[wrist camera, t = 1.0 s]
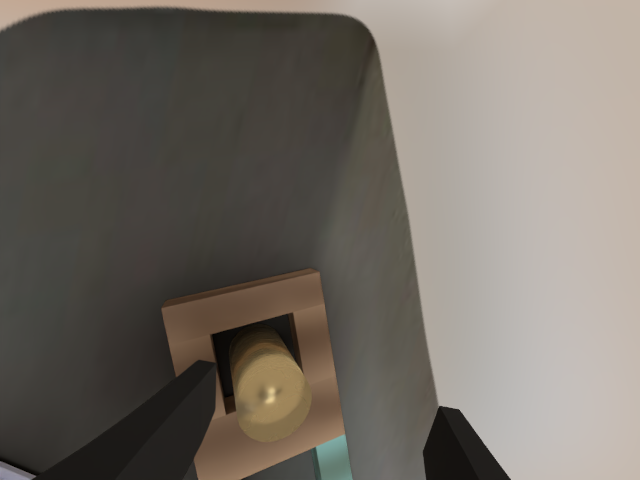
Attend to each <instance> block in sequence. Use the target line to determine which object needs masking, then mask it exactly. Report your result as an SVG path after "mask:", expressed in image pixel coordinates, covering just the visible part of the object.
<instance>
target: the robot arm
mask: <svg viewBox="0 0 640 480" xmlns="http://www.w3.org/2000/svg"><path fill="white" fill-rule="evenodd" d="M216 372H217V363H214V362H209V361H204V360H197V361H196V362H194V363H193V364H192V365H191V366H190V367H188V368H187V369H186V370H185V371H184V372H182V373H181V374H180V375H179V376H177V377H176V378H175V379H174V380H173V381H171V382H170V383H169V384H168V385H166V386H165V387H164V388H163V389H161V390H160V391H159V392H158V393H156V394H155V395H154V396H152V397H151V398H150V399H149V400H147V401H146V402H145V403H143V404H142V405H141V406H140V407H138V408H137V409H136V410H134V411H133V412H132V413H130V414H129V415H128V416H126V417H125V418H124V419H122V420H121V421H119V422H118V423H117V424H115V425H114V426H112V427H111V428H110V429H108V430H107V431H105V432H104V433H103V434H101V435H100V436H98V437H97V438H96V439H94V440H93V441H91V442H90V443H88V444H87V445H85V446H84V447H82V448H81V449H79V450H78V451H76V452H75V453H73V454H72V455H70V456H68V457H67V458H65V459H64V460H62V461H61V462H59V463H57V464H56V465H54V466H53V467H51V468H50V469H48V470H46V471H45V472H43V473H41V474H40V475H38V476H35V475H32V474H30V473H27V472H25V471H23V470H20V469H18V468H15V467H13V466H11V465H8V464H6V463H3V462H1V461H0V480H182V479H183V477H184V476H185V474H186V472H187V470H188V468H189V466H190V464H191V463H192V461H193V459H194V457H195V455H196V453H197V451H198V449H199V447H200V446H201V444H202V441H203V439H204V437H205V434H206V432H207V430H208V427H209V425H210V422H211V420H212V417H213V415H214V412H215V408H216ZM423 457H424V465H425V474H426V480H511V479H510V478H509V477H508V476H507V474H506V473H505V471H504V470H503V469H502V467H501V466H500V465H499V463H498V462H497V461H496V459H495V458H494V457H493V455H492V454H491V453H490V451H489V450H488V448H487V447H486V446H485V445H484V443H483V442H482V440H481V439H480V437H479V436H478V435H477V434H476V432H475V431H474V429H473V428H472V426H471V425H470V424H469V422H468V421H467V420H466V418H465V417H464V415H463V414H462V413H461V411H460V410H459V409H453V408H448V407H443V406H439V408H438V411H437V414H436V417H435V419H434V422H433V425H432V428H431V431H430V433H429V436H428V439H427V442H426V445H425V447H424V450H423Z"/></svg>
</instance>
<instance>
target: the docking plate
mask: <svg viewBox="0 0 640 480" xmlns="http://www.w3.org/2000/svg"><path fill="white" fill-rule="evenodd" d="M161 310H162V315H163V319H164V324H165V329H166V333H167V338H168V342H169V347H170V352H171V356H172V361H173V365H174V370H175V375H176V377H177V376H179V375H180V374H181V373H182V372H184V371H185V370H186V369H187V368H188V367H190V366H191V365H192V364H193V363H194V362H196V361H197V360H204V361H209V362H214V363H217V358H216V353H215V348H214V343H213V338H212V334H214V333H218V332H221V331H225V330H229V329H232V328H236V327H240V326H244V325H247V324H251V323H255V322H258V321H262V320H266V319H269V318H273V317H277V316H281V315H284V314H288V318H289V324H290V330H291V336H292V341H293V347H294V353H295V359H296V363H297V365H298V366H299V368H300V370H301V371H302V373H303V374H304V376H305V378H306V379H307V381H308V383H309V385H310V388H311V394H312V400H311V406H310V410H309V412H308V415H307V417H306V418H305V420H304V422H303V423H302V424H301V425H300V426H299V428H298V429H297V430H295V431H294V432H293V433H292V434H290V435H289V436H287V437H285V438H283V439H280V440H277V441H272V442H262V441H257V440H255V439H252V438H251V437H249V436H248V435H246V434H245V433H244V431H243V430H242V429H241V427H240V425H239V422H238V419H237V412H236V405H235V398H234V395H232V396H230V397H227V398H224V393H223V388H222V383H221V378H220V373H219V368H218V363H217V372H216V408H215V412H214V415H213V417H212V420H211V422H210V425H209V427H208V430H207V432H206V434H205V437H204V439H203V441H202V444H201V446H200V447H199V449H198V451H197V453H196V455H195V457H194V462H195V467H196V472H197V476H198V480H241V479H243V478H245V477H247V476H250V475H252V474H254V473H256V472H259V471H261V470H263V469H266V468H268V467H270V466H273V465H275V464H277V463H279V462H282V461H284V460H286V459H289V458H291V457H293V456H296V455H298V454H300V453H302V452H305V451H307V450H309V449H311V452H312V458H313V463H314V469H315V475H316V480H352V474H351V468H350V462H349V456H348V449H347V443H346V437H345V430H344V424H343V418H342V411H341V405H340V399H339V392H338V386H337V380H336V374H335V367H334V361H333V355H332V348H331V342H330V336H329V329H328V323H327V317H326V310H325V304H324V298H323V292H322V285H321V279H320V273H319V272H318V271H316V270H314V269H311V268H309V269H304V270H300V271H295V272H291V273H286V274H282V275H277V276H273V277H269V278H264V279H260V280H255V281H251V282H246V283H242V284H237V285H233V286H228V287H224V288H219V289H215V290H210V291H206V292H201V293H197V294H193V295H188V296H184V297H179V298H175V299H170V300H166V301H165V303H164V305H163V306H162V308H161Z"/></svg>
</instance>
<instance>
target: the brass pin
mask: <svg viewBox="0 0 640 480" xmlns="http://www.w3.org/2000/svg"><path fill="white" fill-rule="evenodd" d="M229 361H230V368H231V376H232V383H233V390H234V398H235V405H236V412H237V419H238V422H239V425H240V427H241V429H242V430H243V431H244V433H245V434H246V435H248V436H249V437H251V438H252V439H255V440H257V441H262V442H272V441H277V440H280V439H283V438H285V437H287V436H289V435H290V434H292V433H293V432H294V431H295V430H297V429H298V428H299V426H300V425H301V424H302V423H303V422H304V420H305V418H306V417H307V415H308V412H309V410H310V406H311V400H312V394H311V388H310V385H309V383H308V381H307V379H306V378H305V376H304V374H303V373H302V371H301V370H300V368H299V366H298V365H297V363H296V362H295V360H294V358H293V357H292V355H291V354H290V352H289V350H288V349H287V347H286V345H285V344H284V342H283V341H282V339H281V337H280V336H279V334H278V333H277V332H276V330H274V329H273V328H272V327H270V326H268V325H264V324H254V325H250V326H247V327H245V328H243V329H242V330H241V331H239V332H238V333H237V334H236V335H235V337H234V338H233V340H232V342H231V344H230V347H229Z"/></svg>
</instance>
